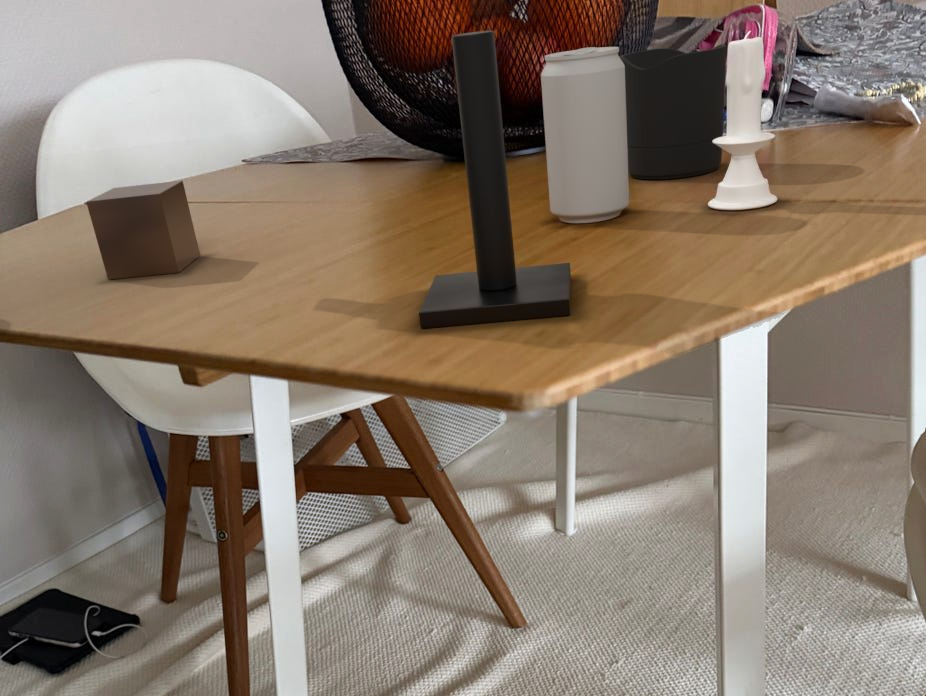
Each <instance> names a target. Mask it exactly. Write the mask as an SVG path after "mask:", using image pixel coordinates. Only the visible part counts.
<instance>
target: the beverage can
mask: <svg viewBox="0 0 926 696" xmlns="http://www.w3.org/2000/svg"><path fill="white" fill-rule="evenodd" d="M619 52H620V46H605V47H604V46H603V47H601V46H600V47H595V46H590V47H589V46H588V47H582V48H578V49H573V50H566V51H559V52H554V53H549V54H546V55H544V60H545V65H544V67H543V69H542V71H541V73H540V81H541V97H542V110H543V111H542V112H543V126H544V127H543V128H544V137H545V138H544V140H545V154H546V155H545V157H546V168H547V169H546V170H547V184H548V198H549V210H550V211H549V212H550V213H551V214H553V215H554V216H555V217H558V219H559V221H560V222H562V223H568V224H590V223H597V222H603V221H607V220H612V219H614V218H617V217H619V216H620V215H621V213H622V211H623V210H625V209H626V208H628V206H629V205H630V183H629V182H630V181H629V173H628V150H627V120H626V90H625V65H624V63H623V62H622V60H621V59H620V57H619Z"/></svg>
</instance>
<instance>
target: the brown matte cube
mask: <svg viewBox="0 0 926 696" xmlns="http://www.w3.org/2000/svg"><path fill="white" fill-rule="evenodd" d="M188 201H189V200H188V198H187V193H186V189H185V184H184V182H183V180H174V181H163V182H157V183H156V182H155V183H146V184H138V185H137V184H136V185H127V186H120V187H113V188H111V189H109V190H107V191H104V192H102V193H101V194H98V195H97V196H95V197H93V198H91V199H89V200H87V201H85V203H86V207H87V210H88V213H89V217H90V221H91V224H92V228H93V231H94V235H95V238H96V241H97V245H98V249H99V252H100V256H101V259H102V263H103V267H104V270H105V274H106V277H107V280H108V281H109V280H120V279H130V278H139V277H140V278H141V277H149V276H150V277H151V276H160V275H171V274H178V273H180V272H182V271H183V270H184V269H186V268H187V267H188V266H189V265H191V263H193V262H194V261H195V260H197V259H198V258H199V257H200V256H201V253H200V248H199V243H198V240H197V235H196V231H195V227H194V222H193V219H192V215H191V211H190V210H191V209H190V206H189V203H188Z"/></svg>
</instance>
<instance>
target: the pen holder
mask: <svg viewBox="0 0 926 696" xmlns="http://www.w3.org/2000/svg"><path fill="white" fill-rule="evenodd" d="M727 50H728V45H727V44H726V43H725V44H719V45H716V46H714V47H713V48H711V49H705V50H704V49H703V50H699V51H698V50H697V51H692V52H685V51H682V50H678V49H675V48H668V47H667V48H666V47H665V48H652V49H645V50H638V51H634V52H629V53H625V54H622V55H620V56H619V55H618V56H619V57H620V59H621V60H622V62H623V63H624V65H625V90H626V120H627V150H628V174H629V175H630V177H632V178H635V179H639V180H671V179H682V178H689V177H695V176H701V175H704V174H708V173H711V172H714V171H716V170H718V169H719V166H720V165H721V163H722V158H723V157H722V154H723V149H722V148H720V147H719V146H717V145H715V144H714V143H713V142H712V141H713V140H714V139H716V138H719V137H722V136H724V122H725V121H724V120H725V119H724V118H725V98H726V97H725V96H726V94H725V93H726V74H727Z"/></svg>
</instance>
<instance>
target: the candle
mask: <svg viewBox="0 0 926 696" xmlns="http://www.w3.org/2000/svg"><path fill="white" fill-rule="evenodd" d="M751 32H752V30H749V31H748V32H747V33H746V34H745V36H744V38H743V39H738V40H733V41H729V42H728V45H727V53H726V74H725V87H726V135H722V137H719V138H716V139H714V140H713V141H712V142H713V143H714V144H715V145H717V146H719V147H720V148H722V150H724V151H725V152H726V153H728V154H730V155H731V156H730V161H729V163H728V167H727V170H726V172H725V175H724V177H723V179H722V181H720V182H718V184H717V189H716V194H715V197H714V198H712V199H710V200H709V201H708V203H707V206H708V207H709V208H711V209H714V210H720V211H742V210H753V209H759V208H764V207H767V206H768V207H769V206H770V205H773V204H774V203H776V202H778V196H776V195H775V194H773V193H771V190H770V185H769V180H768V179H767V178H765V177H764V176H763V174H762V171H761V169H760V166H759V164H758V161H757V157H756V152H758V151H759V150H760V149H761V148H763V147H764V146H766V145H767V144H768V143H770V141H772V140H773V139H774V138H776V134H774V133H771V132H762V91H763V85H764V84H765V83H764V82H765V81H766V65H765V57H764V55H765V53H764V51H765V49H764V47H765V45H764V40H763V38H762V37H761V36H756V37H753V38H748V36H750V35H749V34H750V33H751Z"/></svg>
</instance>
